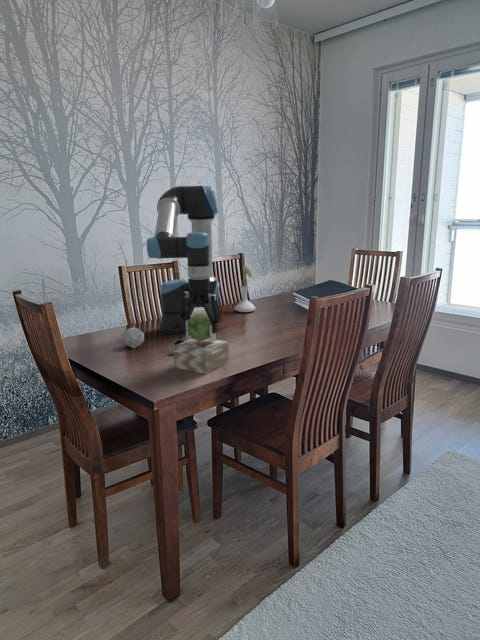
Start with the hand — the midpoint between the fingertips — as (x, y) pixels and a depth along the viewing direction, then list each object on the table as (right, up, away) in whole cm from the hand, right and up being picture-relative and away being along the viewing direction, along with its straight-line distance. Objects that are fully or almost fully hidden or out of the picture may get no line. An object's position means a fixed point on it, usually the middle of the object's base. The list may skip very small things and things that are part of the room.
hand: (200, 339), depth 166 cm
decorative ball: (0, 0, 0) cm, 1 cm away
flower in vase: (+17, +12, +88) cm, 90 cm away
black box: (-9, -6, +18) cm, 21 cm away
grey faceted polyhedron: (-30, -4, +26) cm, 39 cm away
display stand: (0, -9, +2) cm, 10 cm away
